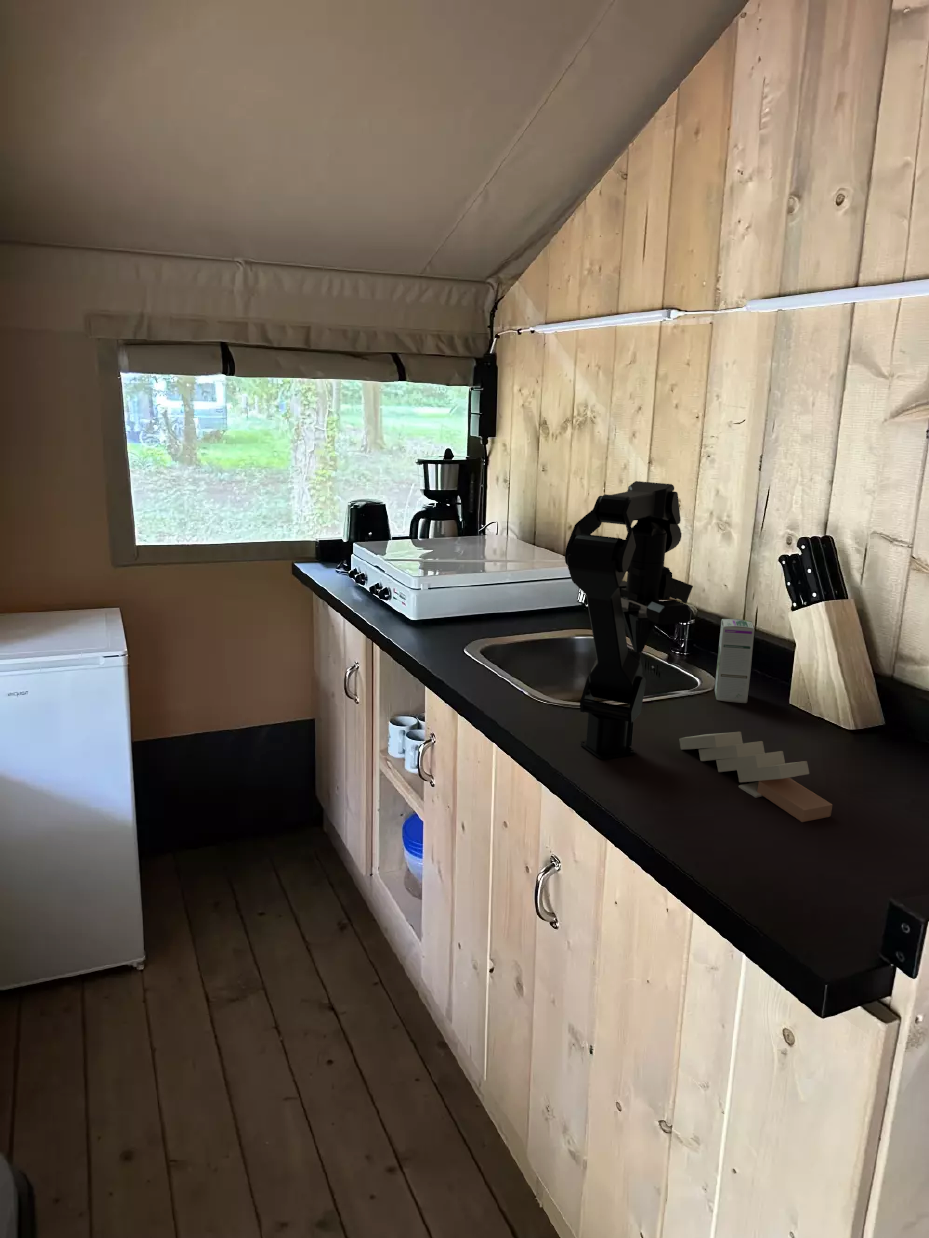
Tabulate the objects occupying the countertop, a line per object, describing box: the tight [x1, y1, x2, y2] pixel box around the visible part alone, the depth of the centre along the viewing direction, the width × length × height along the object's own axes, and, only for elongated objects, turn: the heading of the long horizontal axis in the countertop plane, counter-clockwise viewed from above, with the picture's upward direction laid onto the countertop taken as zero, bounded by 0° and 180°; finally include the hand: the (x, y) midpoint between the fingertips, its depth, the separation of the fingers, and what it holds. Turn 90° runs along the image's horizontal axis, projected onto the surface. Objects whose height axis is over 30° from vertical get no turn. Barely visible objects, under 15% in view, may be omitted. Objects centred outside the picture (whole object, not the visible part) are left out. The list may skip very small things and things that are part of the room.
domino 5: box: [757, 777, 833, 823], centre depth 127 cm, size 2×5×9 cm
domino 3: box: [715, 750, 786, 773], centre depth 134 cm, size 2×5×9 cm
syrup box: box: [714, 618, 755, 704], centre depth 169 cm, size 6×6×14 cm
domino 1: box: [679, 731, 744, 750], centre depth 142 cm, size 2×5×9 cm
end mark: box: [738, 781, 763, 798], centre depth 132 cm, size 6×4×1 cm, turn 114°
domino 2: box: [698, 740, 766, 762], centre depth 138 cm, size 2×5×9 cm
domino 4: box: [736, 760, 810, 783], centre depth 130 cm, size 2×5×9 cm
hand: (638, 651), depth 151 cm, fingers closed
